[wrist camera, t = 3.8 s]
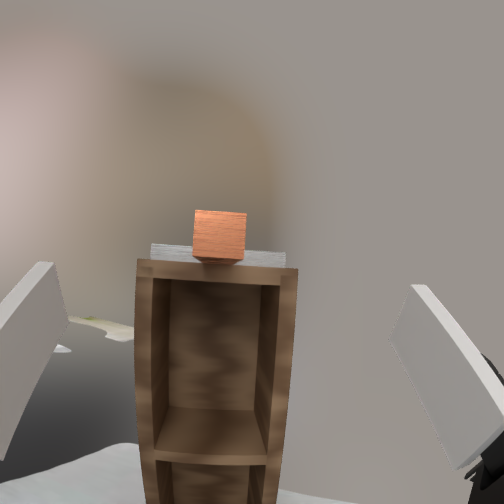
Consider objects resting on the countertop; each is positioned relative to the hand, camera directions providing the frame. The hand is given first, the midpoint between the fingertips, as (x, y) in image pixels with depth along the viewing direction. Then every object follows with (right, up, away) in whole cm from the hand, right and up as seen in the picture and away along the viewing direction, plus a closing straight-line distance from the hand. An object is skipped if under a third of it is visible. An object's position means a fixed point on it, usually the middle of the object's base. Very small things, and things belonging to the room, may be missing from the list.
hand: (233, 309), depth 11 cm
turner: (-2, +1, +10) cm, 11 cm away
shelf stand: (-4, -29, +13) cm, 32 cm away
